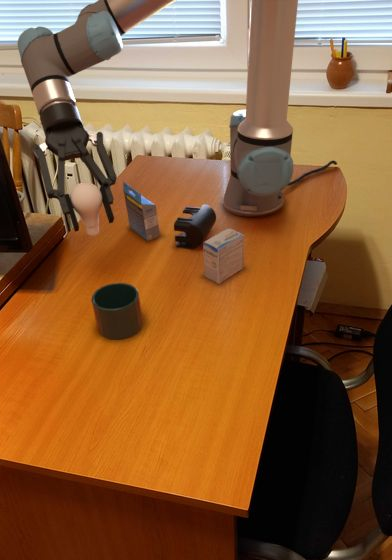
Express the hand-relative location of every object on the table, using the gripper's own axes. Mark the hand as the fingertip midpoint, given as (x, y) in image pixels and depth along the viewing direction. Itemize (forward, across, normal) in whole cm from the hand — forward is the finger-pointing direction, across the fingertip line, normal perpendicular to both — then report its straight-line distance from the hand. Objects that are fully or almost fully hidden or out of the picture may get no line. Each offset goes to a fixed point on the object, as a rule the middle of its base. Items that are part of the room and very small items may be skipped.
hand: (94, 224), depth 105 cm
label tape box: (-3, -15, -26) cm, 30 cm away
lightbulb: (+1, 0, -6) cm, 6 cm away
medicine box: (+15, -25, -8) cm, 30 cm away
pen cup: (+20, +1, -3) cm, 20 cm away
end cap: (+3, -25, -20) cm, 32 cm away
